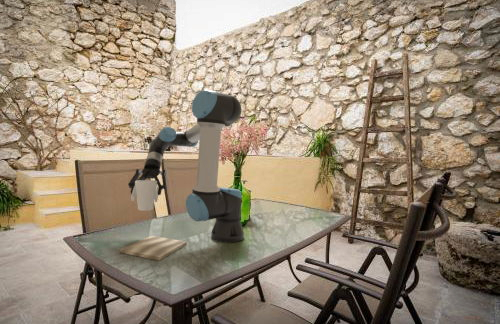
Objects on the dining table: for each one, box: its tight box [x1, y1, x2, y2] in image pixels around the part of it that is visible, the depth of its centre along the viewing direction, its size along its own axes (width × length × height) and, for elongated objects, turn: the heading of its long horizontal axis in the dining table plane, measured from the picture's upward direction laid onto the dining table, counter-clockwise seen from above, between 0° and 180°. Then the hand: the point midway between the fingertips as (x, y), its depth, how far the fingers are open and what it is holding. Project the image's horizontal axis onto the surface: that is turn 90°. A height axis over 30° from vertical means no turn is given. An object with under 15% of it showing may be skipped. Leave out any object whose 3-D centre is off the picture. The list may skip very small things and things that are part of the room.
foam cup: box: [135, 179, 158, 212], centre depth 123 cm, size 10×9×13 cm
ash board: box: [119, 235, 188, 261], centre depth 108 cm, size 18×18×1 cm
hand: (143, 200), depth 120 cm, fingers closed on foam cup, 9 cm apart
